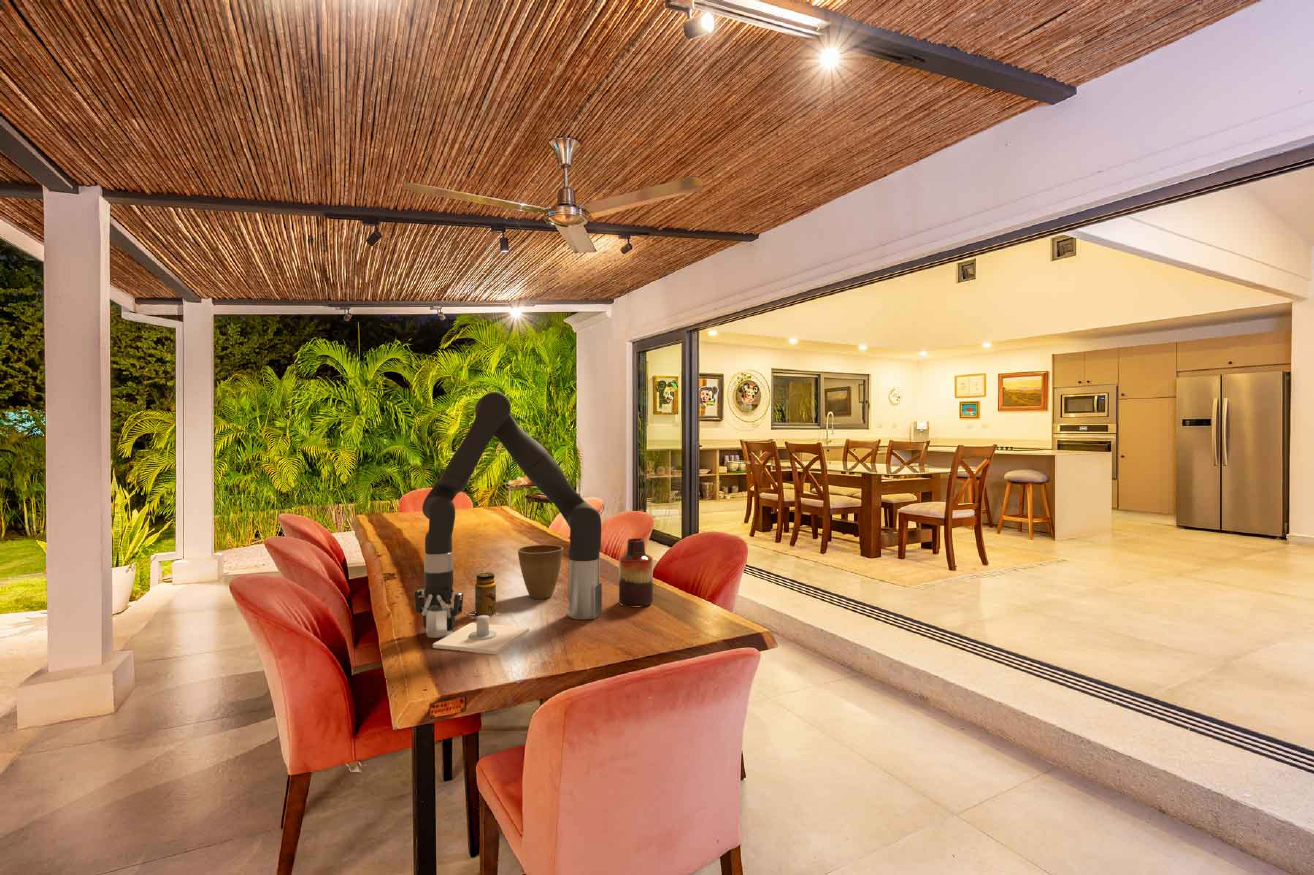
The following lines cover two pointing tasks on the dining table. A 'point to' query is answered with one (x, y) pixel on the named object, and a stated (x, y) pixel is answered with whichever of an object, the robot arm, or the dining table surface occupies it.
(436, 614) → the collar
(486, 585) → the condiment
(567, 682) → the dining table surface
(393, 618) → the dining table surface
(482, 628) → the duct flange
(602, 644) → the dining table surface
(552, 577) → the plant pot
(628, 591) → the vase
